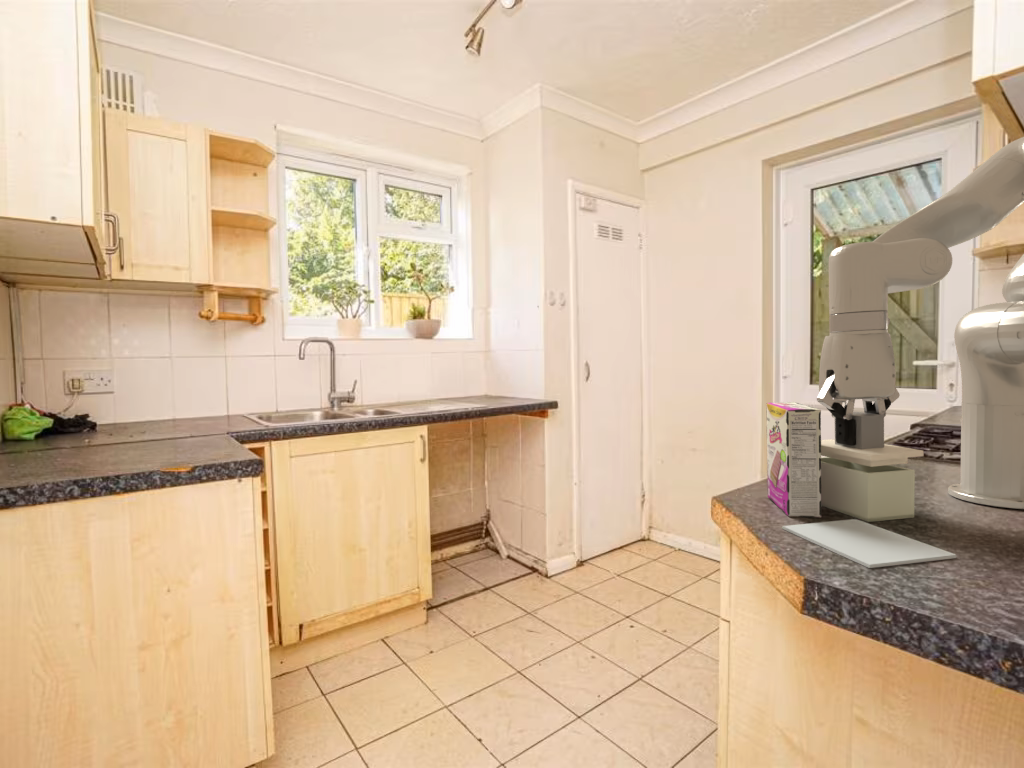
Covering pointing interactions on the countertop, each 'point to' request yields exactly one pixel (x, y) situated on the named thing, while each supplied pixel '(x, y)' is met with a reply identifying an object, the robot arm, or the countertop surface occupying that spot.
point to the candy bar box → (794, 458)
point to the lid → (868, 444)
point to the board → (867, 543)
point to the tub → (867, 490)
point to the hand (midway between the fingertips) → (858, 442)
